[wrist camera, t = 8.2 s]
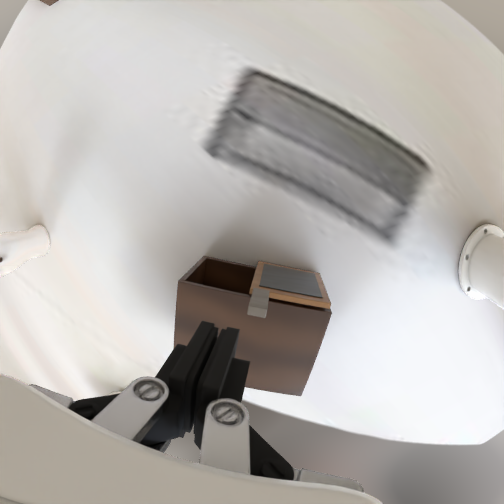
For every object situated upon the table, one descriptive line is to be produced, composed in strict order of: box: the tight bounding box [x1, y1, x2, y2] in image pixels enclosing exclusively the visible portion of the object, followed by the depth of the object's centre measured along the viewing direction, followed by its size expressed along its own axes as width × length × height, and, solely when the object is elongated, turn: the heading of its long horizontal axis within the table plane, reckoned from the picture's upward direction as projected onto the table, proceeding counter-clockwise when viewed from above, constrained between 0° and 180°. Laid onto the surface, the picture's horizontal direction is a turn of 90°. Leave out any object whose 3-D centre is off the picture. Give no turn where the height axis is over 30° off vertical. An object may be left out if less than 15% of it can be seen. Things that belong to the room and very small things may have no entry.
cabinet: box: [174, 256, 332, 396], centre depth 33 cm, size 12×16×10 cm
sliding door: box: [247, 261, 331, 318], centre depth 29 cm, size 1×8×14 cm, turn 79°
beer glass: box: [0, 225, 50, 278], centre depth 33 cm, size 7×7×15 cm
